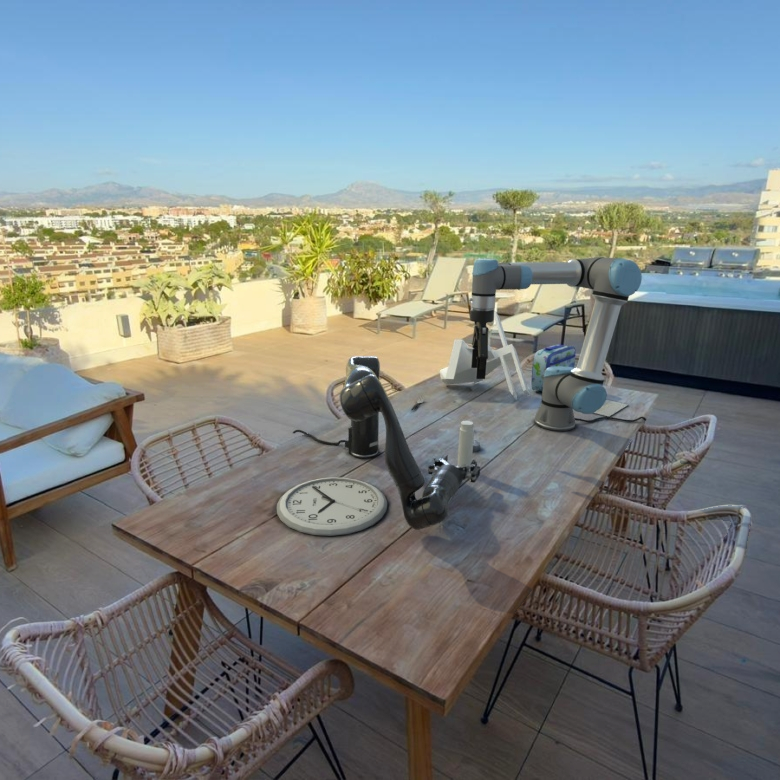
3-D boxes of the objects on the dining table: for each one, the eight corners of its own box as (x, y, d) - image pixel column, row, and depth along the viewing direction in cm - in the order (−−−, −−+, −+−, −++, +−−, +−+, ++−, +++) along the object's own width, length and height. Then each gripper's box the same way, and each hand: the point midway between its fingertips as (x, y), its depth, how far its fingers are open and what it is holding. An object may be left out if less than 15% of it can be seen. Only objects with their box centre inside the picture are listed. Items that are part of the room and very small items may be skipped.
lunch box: (547, 397, 237) (552, 352, 231) (526, 391, 245) (531, 348, 238) (574, 386, 255) (580, 344, 249) (554, 381, 262) (559, 340, 256)
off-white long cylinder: (462, 467, 167) (465, 419, 162) (473, 471, 164) (477, 422, 159) (454, 471, 164) (457, 422, 159) (465, 476, 161) (468, 426, 156)
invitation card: (608, 416, 214) (573, 407, 224) (608, 416, 214) (573, 408, 224) (628, 404, 229) (594, 396, 238) (628, 405, 229) (594, 397, 238)
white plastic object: (461, 429, 252) (437, 405, 227) (444, 352, 274) (420, 323, 250) (535, 404, 240) (518, 377, 215) (510, 326, 262) (492, 293, 237)
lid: (478, 452, 178) (479, 446, 177) (463, 450, 179) (463, 444, 179) (480, 446, 183) (480, 440, 182) (464, 444, 184) (465, 439, 183)
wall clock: (392, 527, 129) (268, 531, 127) (391, 533, 130) (269, 537, 127) (383, 473, 158) (282, 475, 155) (383, 478, 158) (282, 480, 156)
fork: (408, 410, 217) (408, 406, 216) (419, 399, 231) (419, 395, 230) (414, 411, 216) (414, 407, 215) (425, 400, 230) (425, 396, 230)
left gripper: (471, 475, 138) (484, 452, 152) (420, 465, 143) (437, 444, 157) (469, 500, 140) (483, 475, 155) (419, 490, 145) (436, 467, 160)
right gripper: (466, 303, 179) (462, 363, 185) (475, 314, 155) (470, 383, 161) (488, 303, 178) (484, 363, 185) (500, 315, 155) (495, 384, 161)
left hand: (460, 460), depth 156 cm, fingers open, 8 cm apart
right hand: (477, 373), depth 173 cm, fingers open, 13 cm apart
